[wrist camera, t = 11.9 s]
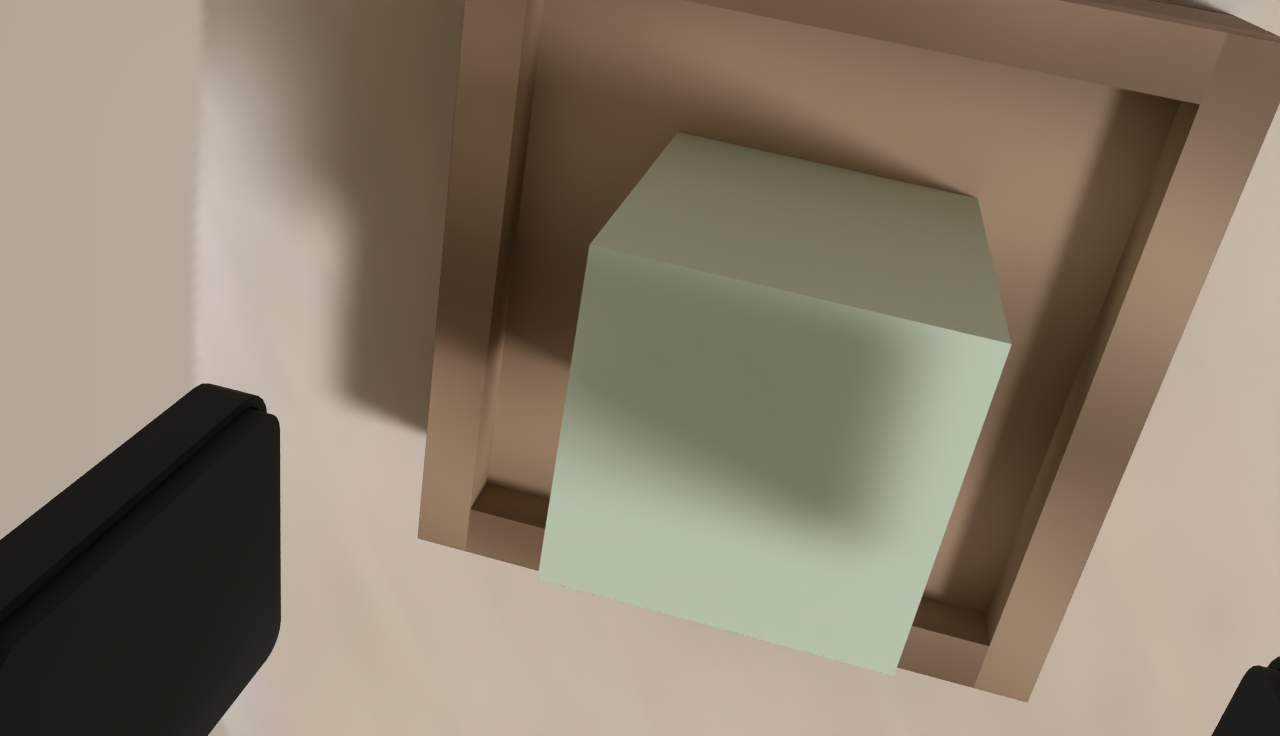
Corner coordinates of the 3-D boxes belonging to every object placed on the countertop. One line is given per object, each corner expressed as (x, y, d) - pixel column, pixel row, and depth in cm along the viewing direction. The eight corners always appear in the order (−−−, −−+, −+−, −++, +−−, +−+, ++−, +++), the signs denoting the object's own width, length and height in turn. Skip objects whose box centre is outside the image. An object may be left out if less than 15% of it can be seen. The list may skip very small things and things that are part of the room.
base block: (549, -118, 20) (474, -113, 17) (1226, 12, 19) (1303, 47, 15) (484, 443, 25) (417, 538, 22) (1008, 577, 24) (1027, 702, 20)
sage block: (678, 131, 18) (590, 245, 13) (977, 198, 18) (1012, 344, 13) (629, 392, 21) (537, 578, 15) (894, 458, 20) (893, 676, 15)
